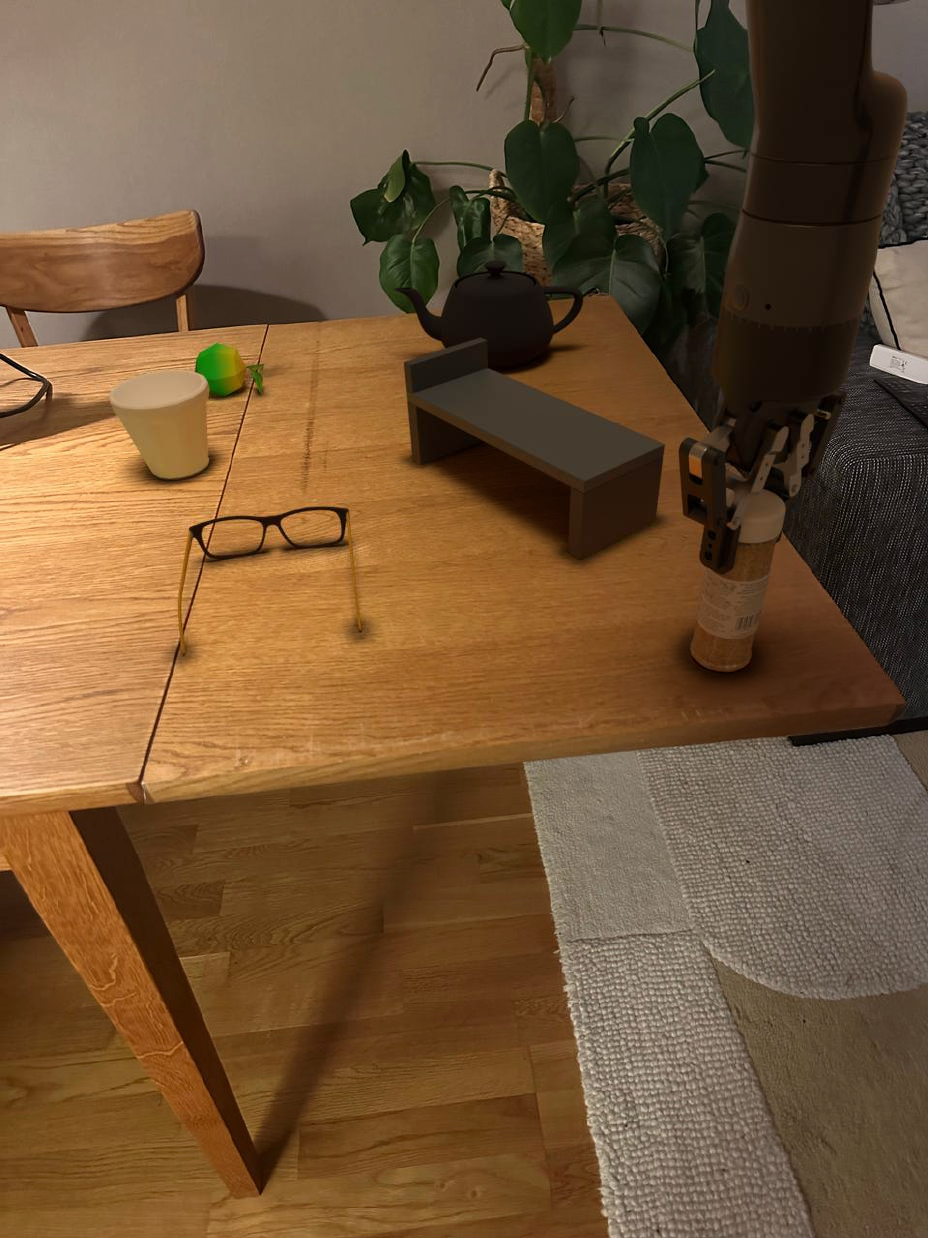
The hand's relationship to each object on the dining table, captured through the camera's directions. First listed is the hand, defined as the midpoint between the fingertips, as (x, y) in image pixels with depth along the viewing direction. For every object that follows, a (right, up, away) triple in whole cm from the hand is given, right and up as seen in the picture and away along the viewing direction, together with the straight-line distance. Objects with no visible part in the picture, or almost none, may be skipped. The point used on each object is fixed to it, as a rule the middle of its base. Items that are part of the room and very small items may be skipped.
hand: (740, 552), depth 56 cm
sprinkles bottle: (0, -8, +6) cm, 10 cm away
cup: (-50, +12, +34) cm, 62 cm away
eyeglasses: (-35, -2, +15) cm, 38 cm away
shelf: (-13, +9, +28) cm, 32 cm away
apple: (-49, +25, +50) cm, 75 cm away
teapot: (-15, +32, +56) cm, 66 cm away
